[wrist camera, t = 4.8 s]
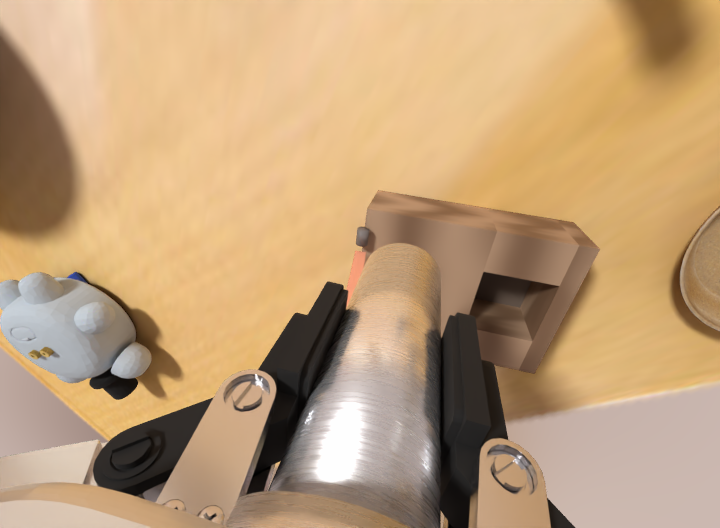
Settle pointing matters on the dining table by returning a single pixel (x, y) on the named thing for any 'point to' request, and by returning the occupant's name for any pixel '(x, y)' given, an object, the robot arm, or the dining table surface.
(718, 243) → the plant saucer
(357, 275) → the plate
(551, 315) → the block
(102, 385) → the figurine
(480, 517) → the robot arm
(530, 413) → the dining table surface
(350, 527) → the pin
